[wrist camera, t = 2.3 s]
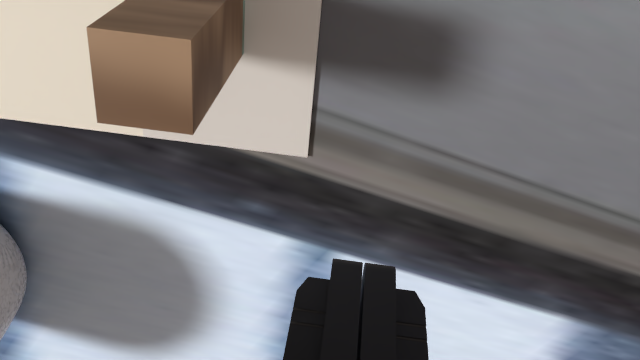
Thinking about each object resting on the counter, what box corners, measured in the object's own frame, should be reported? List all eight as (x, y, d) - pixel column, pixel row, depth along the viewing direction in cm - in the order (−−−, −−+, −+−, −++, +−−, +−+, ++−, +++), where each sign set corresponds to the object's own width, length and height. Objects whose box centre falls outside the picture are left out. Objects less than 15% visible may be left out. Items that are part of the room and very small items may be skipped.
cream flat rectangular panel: (-83, -191, 29) (-86, -191, 29) (335, -146, 28) (334, -145, 28) (-16, 114, 37) (-18, 115, 37) (307, 155, 36) (307, 157, 36)
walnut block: (169, -31, 31) (86, 26, 23) (245, -22, 31) (191, 39, 23) (172, 44, 33) (97, 122, 25) (243, 53, 33) (192, 135, 25)
